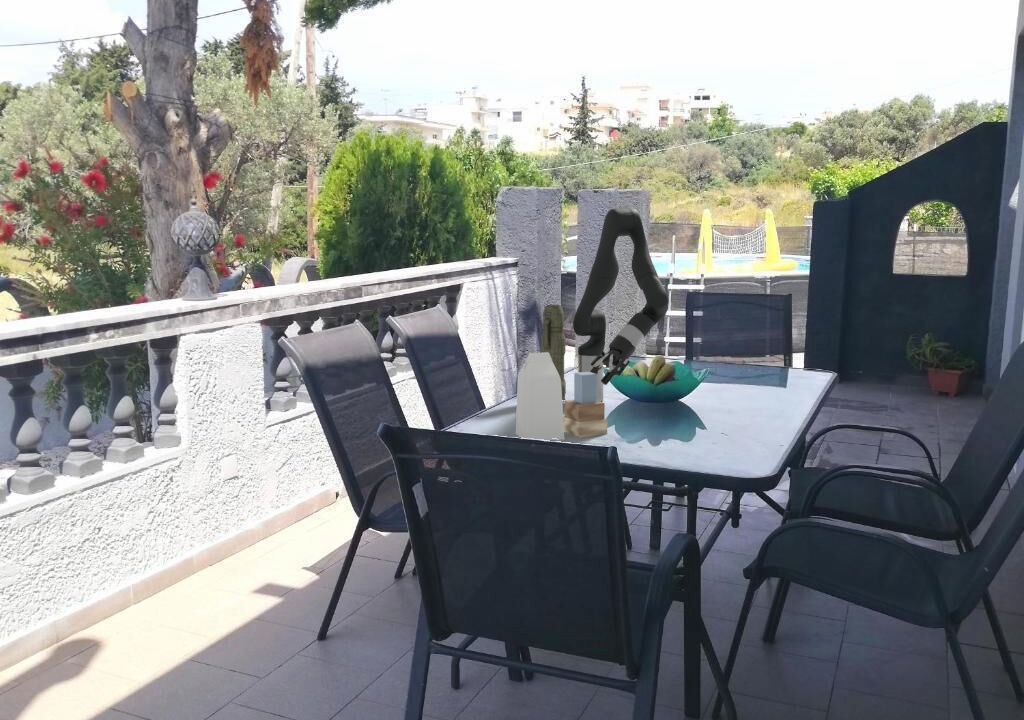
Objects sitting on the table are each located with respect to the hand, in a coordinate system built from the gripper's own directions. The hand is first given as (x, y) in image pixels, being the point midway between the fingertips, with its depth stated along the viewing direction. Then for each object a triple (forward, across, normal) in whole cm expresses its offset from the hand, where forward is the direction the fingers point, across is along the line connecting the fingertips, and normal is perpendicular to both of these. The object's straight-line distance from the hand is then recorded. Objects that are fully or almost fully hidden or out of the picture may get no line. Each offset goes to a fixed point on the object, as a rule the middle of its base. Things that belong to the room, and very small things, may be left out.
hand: (595, 381), depth 282 cm
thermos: (+3, -48, +20) cm, 52 cm away
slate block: (+7, 0, +2) cm, 7 cm away
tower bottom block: (+14, 0, +8) cm, 17 cm away
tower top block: (+11, 0, +5) cm, 12 cm away
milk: (+25, -1, -2) cm, 25 cm away
